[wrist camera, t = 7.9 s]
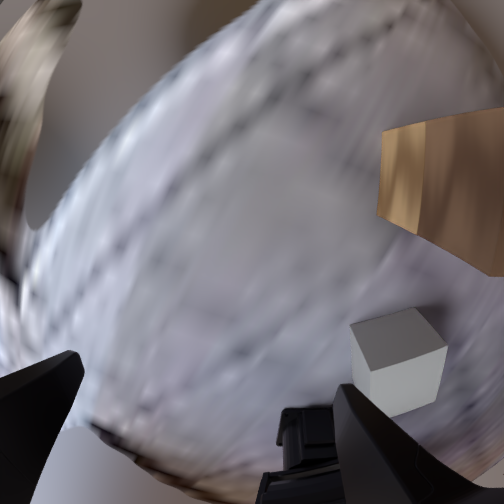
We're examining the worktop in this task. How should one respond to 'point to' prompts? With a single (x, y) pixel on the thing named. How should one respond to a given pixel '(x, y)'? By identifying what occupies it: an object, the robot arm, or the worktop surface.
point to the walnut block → (466, 188)
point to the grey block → (397, 361)
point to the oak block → (402, 175)
